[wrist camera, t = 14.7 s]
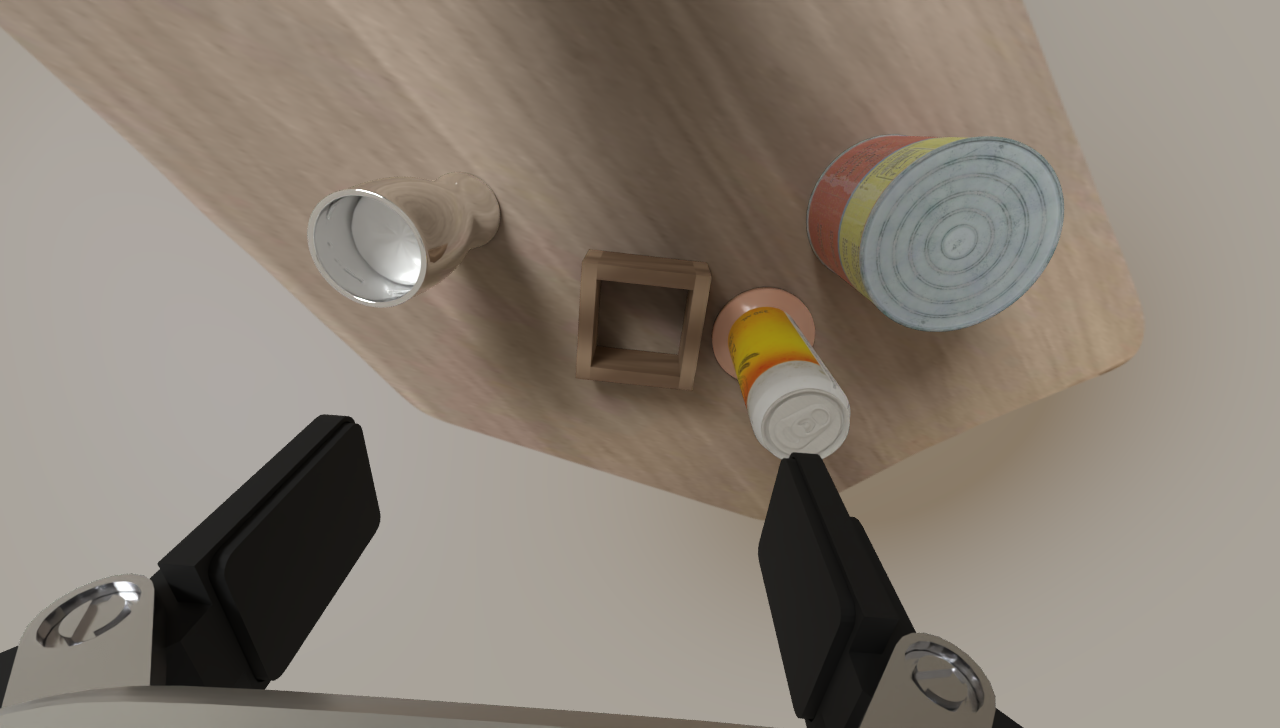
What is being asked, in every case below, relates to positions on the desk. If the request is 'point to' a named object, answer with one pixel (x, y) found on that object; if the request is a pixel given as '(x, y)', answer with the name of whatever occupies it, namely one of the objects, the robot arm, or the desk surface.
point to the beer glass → (399, 234)
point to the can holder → (633, 362)
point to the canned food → (937, 225)
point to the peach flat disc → (751, 301)
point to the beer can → (786, 386)
